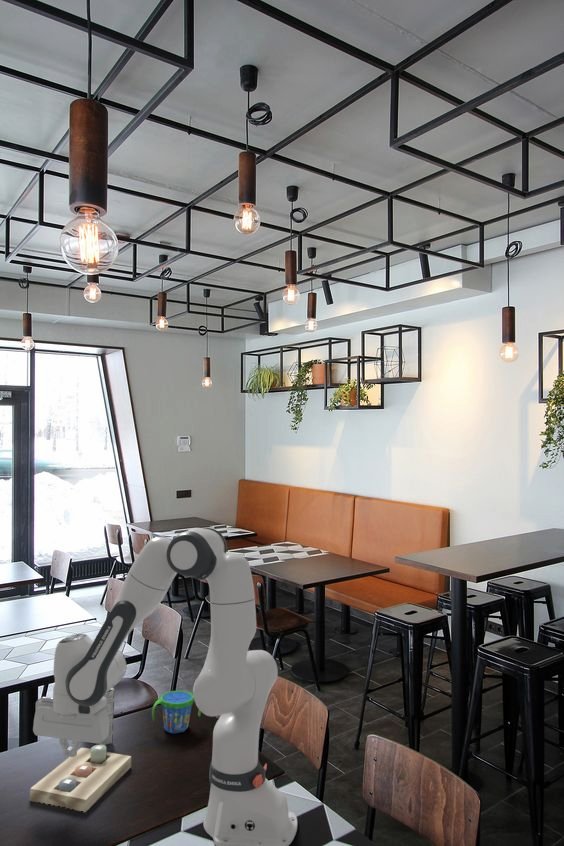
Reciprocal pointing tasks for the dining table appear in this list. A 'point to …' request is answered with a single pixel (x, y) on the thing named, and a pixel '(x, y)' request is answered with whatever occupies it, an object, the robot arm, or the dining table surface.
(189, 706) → the snack cup
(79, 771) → the pink rounded knob
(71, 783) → the slate button
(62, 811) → the dining table surface
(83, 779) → the button board
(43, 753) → the dining table surface
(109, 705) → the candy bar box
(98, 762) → the sage button
